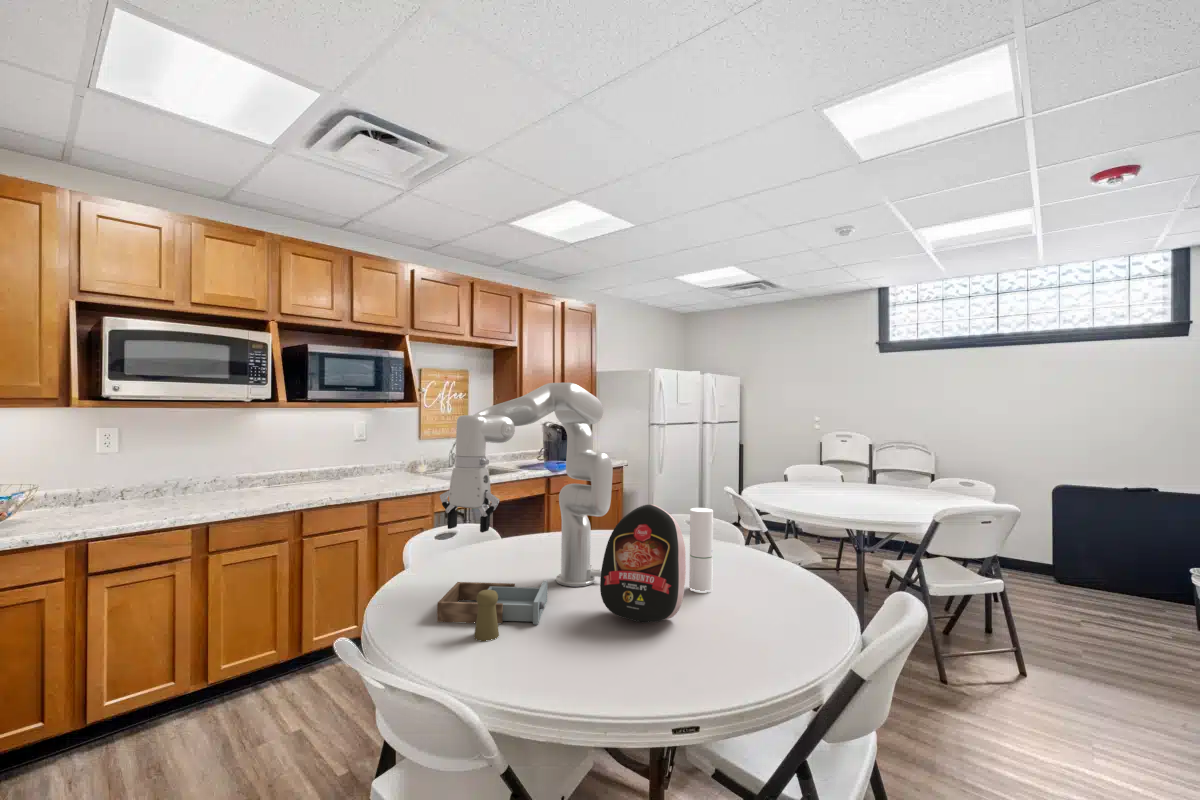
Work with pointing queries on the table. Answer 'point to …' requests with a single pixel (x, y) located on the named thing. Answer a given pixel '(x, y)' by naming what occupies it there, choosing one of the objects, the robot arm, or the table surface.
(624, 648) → the table surface
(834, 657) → the table surface
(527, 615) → the tray
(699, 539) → the cylindrical container
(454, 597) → the frame
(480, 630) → the cork
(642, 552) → the packaged food
